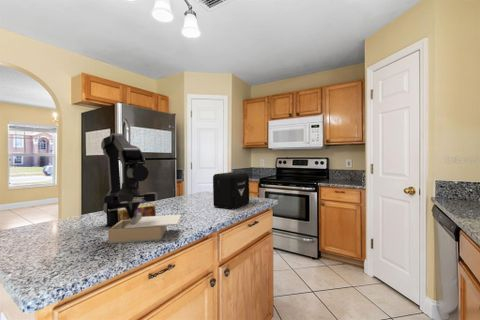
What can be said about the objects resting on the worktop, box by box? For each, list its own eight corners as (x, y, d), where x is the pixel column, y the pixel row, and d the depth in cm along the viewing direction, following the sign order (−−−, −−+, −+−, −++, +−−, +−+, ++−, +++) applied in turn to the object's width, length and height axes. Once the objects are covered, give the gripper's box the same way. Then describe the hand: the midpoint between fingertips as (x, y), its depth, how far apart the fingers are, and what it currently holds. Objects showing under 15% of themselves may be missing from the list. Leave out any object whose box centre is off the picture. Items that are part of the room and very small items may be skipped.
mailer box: (108, 243, 84) (108, 229, 84) (121, 232, 97) (121, 220, 96) (160, 240, 86) (160, 226, 86) (166, 229, 99) (166, 217, 99)
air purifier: (233, 210, 132) (232, 175, 131) (213, 207, 139) (212, 174, 139) (251, 203, 148) (250, 172, 148) (232, 201, 156) (231, 172, 156)
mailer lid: (124, 228, 84) (124, 220, 84) (136, 218, 98) (135, 211, 98) (177, 225, 87) (177, 217, 87) (181, 215, 100) (181, 209, 100)
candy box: (156, 224, 106) (118, 231, 98) (154, 222, 110) (118, 228, 102) (155, 205, 106) (118, 210, 98) (153, 203, 110) (117, 208, 102)
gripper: (95, 182, 81) (96, 227, 82) (151, 180, 84) (152, 223, 84) (109, 179, 92) (110, 218, 93) (157, 178, 95) (158, 216, 95)
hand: (132, 219), depth 91 cm, fingers closed
